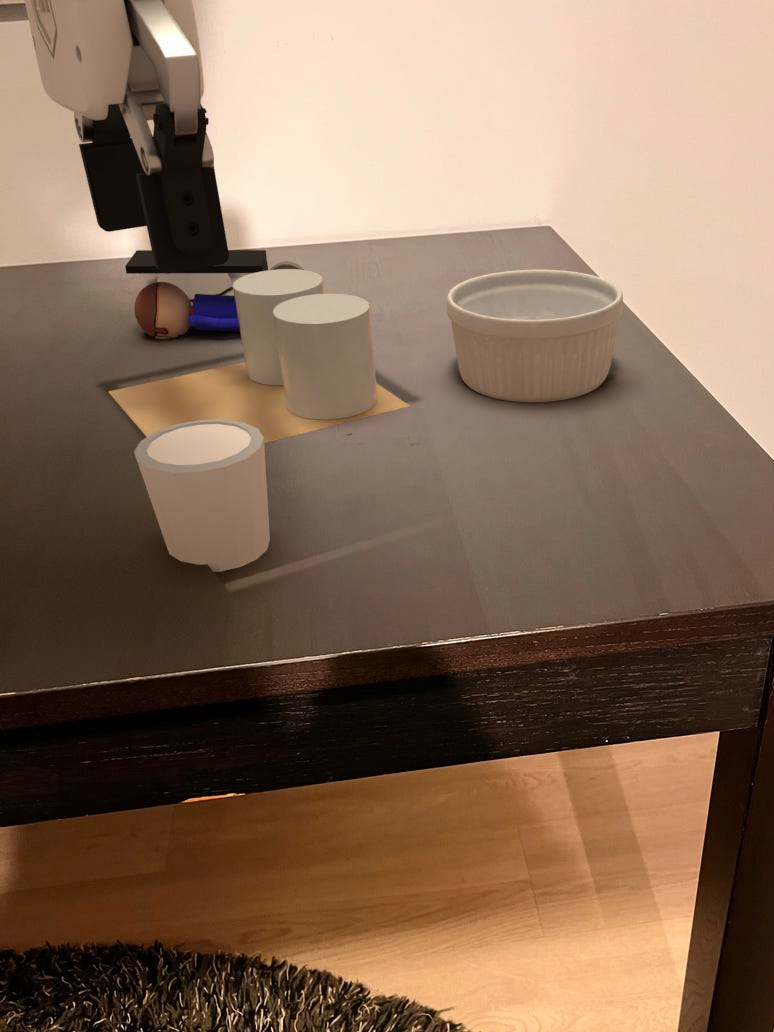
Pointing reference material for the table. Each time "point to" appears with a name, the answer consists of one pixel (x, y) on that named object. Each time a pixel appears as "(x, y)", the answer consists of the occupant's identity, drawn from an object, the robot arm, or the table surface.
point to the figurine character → (170, 308)
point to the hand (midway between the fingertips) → (160, 245)
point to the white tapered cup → (208, 491)
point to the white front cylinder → (326, 355)
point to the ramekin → (534, 333)
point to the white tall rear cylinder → (267, 316)
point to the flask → (198, 282)
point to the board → (227, 403)
